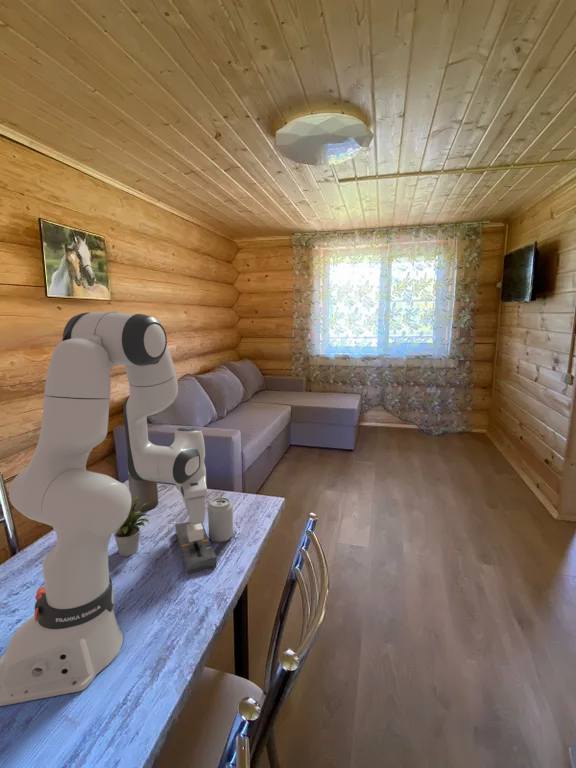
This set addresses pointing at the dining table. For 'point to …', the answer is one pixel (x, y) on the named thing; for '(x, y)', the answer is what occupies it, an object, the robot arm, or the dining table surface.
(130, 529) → the house plant
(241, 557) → the dining table surface
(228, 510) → the can
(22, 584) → the dining table surface
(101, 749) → the dining table surface
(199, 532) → the fader knob
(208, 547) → the fader panel
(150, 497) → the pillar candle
